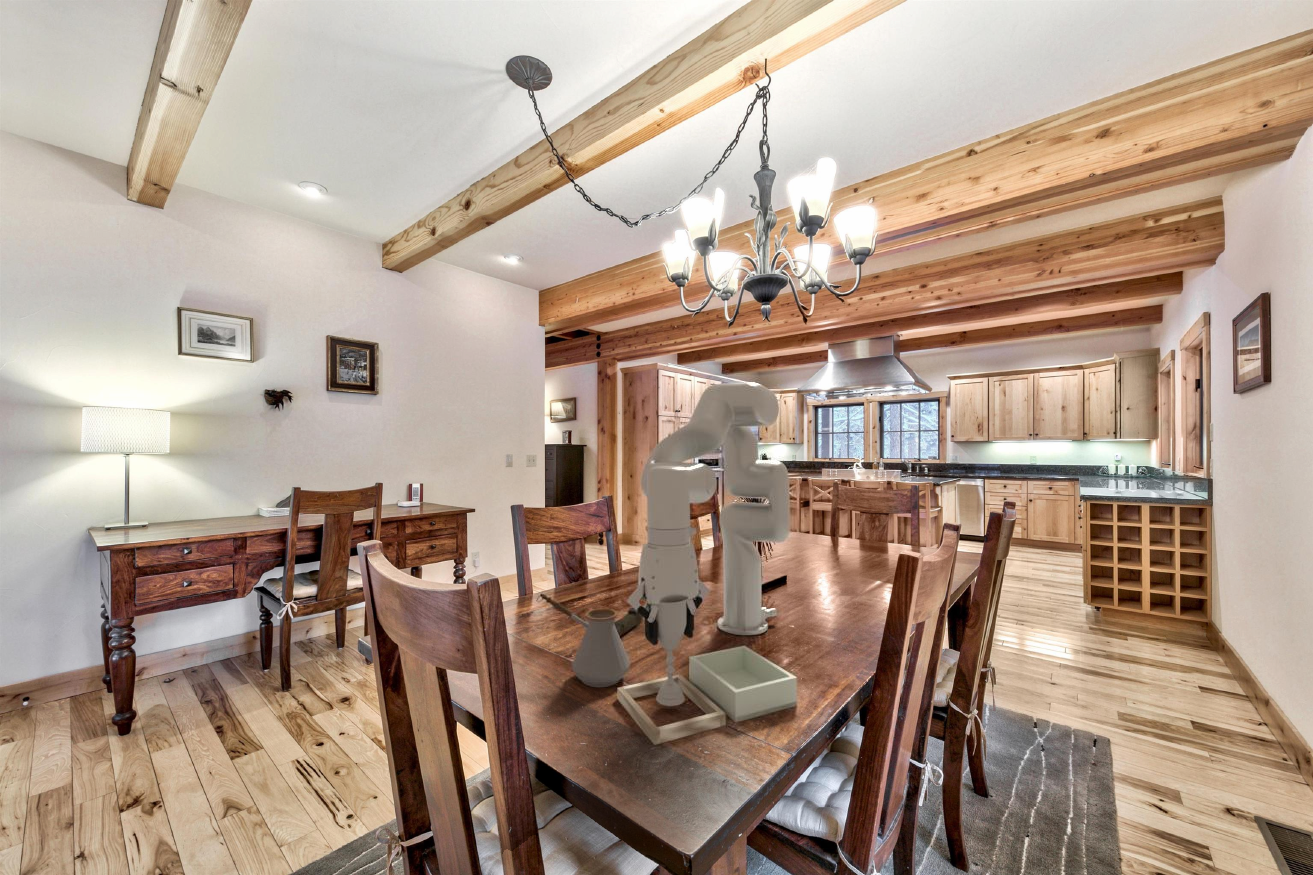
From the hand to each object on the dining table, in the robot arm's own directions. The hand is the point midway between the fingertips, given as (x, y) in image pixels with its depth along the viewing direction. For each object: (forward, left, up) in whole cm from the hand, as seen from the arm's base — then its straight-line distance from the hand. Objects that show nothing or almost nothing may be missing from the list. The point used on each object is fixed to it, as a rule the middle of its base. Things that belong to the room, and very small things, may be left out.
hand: (669, 637), depth 90 cm
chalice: (0, 0, -11) cm, 11 cm away
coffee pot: (+10, -21, -13) cm, 26 cm away
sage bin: (-15, 0, -13) cm, 19 cm away
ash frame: (0, 0, -13) cm, 13 cm away
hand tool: (-7, -39, -13) cm, 42 cm away
